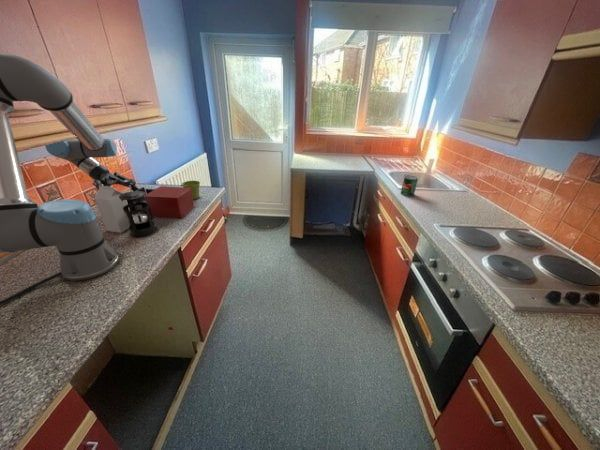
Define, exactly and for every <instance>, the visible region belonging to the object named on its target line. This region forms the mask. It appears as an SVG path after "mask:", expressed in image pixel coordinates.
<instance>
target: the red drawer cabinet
mask: <svg viewBox="0 0 600 450" xmlns="http://www.w3.org/2000/svg"><path fill="white" fill-rule="evenodd" d="M154 189H155V190H153V191H152V192H150V193H148V194H146V195H145V198H146V199H145V201H148V203H149V207H150V210H151V214H152V218H164V219H179V220H180V219H181V220H182V219H183V218H184V217H185V216H187V214H188V213H190V212H191V211H192V210H193V209H194V208H195V204H194V200H193V197H192V192H191V188H185V187H183V186H165V185H161V186H158V187H156V188H154Z"/></svg>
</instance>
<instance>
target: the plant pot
mask: <svg viewBox="0 0 600 450" xmlns="http://www.w3.org/2000/svg"><path fill="white" fill-rule="evenodd" d="M200 184H201V181H200V180H187V181H186V180H185V181H183V182H182V183H181V186H182V187H185V188H191V192H192V197H193V201H194V200H197V199H199V198H200V186H201V185H200Z"/></svg>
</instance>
